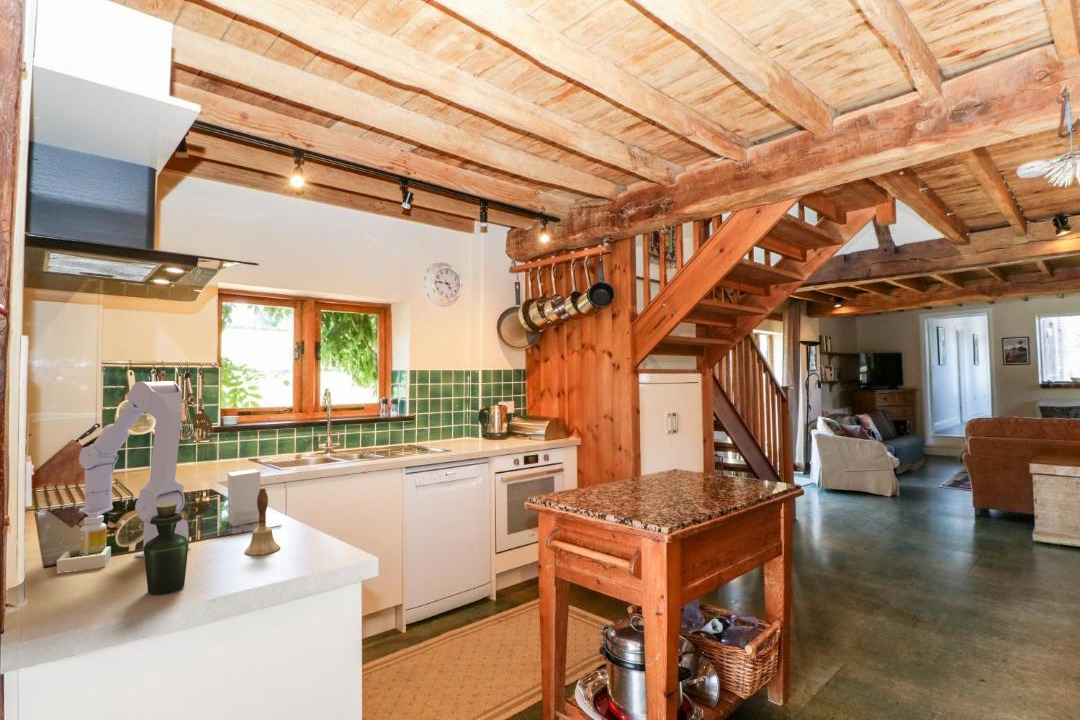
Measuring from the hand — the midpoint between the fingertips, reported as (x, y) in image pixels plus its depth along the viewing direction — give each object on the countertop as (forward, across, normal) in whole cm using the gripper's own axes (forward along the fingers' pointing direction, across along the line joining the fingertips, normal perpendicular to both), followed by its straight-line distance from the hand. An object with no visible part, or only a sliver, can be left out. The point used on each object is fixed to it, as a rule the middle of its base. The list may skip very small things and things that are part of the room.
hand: (98, 542), depth 151 cm
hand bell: (+2, +25, +38) cm, 45 cm away
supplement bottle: (+2, +6, 0) cm, 7 cm away
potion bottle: (+2, +44, +18) cm, 48 cm away
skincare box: (+2, -9, +35) cm, 36 cm away
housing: (+1, +16, 0) cm, 16 cm away
